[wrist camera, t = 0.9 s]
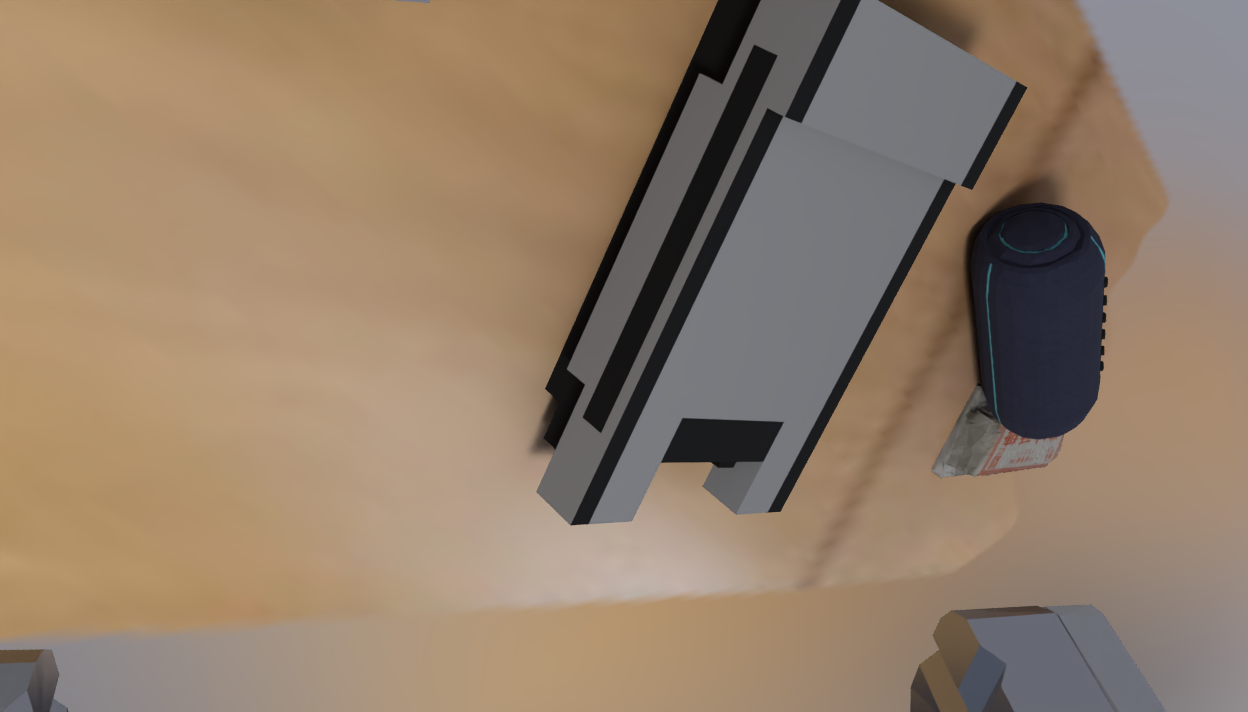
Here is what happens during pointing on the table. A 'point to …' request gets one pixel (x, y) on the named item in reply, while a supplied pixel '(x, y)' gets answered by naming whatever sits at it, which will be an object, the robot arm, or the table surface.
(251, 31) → the table surface
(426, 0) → the grey flat brick
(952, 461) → the packaged product
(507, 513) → the table surface
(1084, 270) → the portable speaker
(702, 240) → the game console
